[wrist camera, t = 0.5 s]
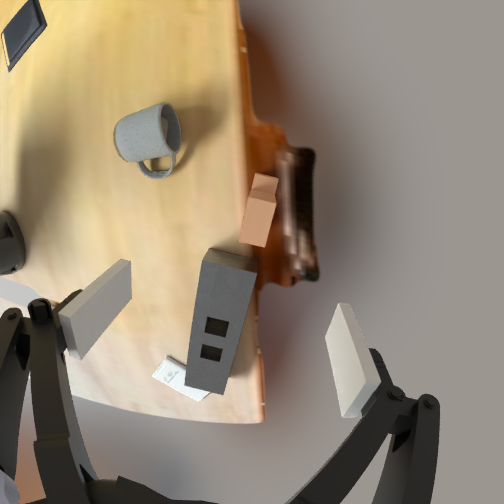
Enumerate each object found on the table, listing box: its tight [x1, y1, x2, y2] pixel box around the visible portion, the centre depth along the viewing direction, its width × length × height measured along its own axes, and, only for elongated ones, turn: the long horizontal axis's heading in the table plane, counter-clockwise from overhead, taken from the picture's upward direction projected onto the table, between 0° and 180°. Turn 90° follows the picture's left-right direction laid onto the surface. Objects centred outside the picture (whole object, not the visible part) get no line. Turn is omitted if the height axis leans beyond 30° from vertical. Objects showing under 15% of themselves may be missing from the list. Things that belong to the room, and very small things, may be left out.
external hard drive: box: [152, 356, 210, 402], centre depth 54 cm, size 2×8×12 cm
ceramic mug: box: [113, 103, 182, 179], centre depth 34 cm, size 11×8×8 cm
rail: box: [184, 248, 258, 395], centre depth 46 cm, size 8×28×5 cm, turn 167°
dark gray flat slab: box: [1, 0, 47, 72], centre depth 26 cm, size 20×2×15 cm
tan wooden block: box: [238, 173, 279, 248], centre depth 35 cm, size 3×9×12 cm, turn 167°
